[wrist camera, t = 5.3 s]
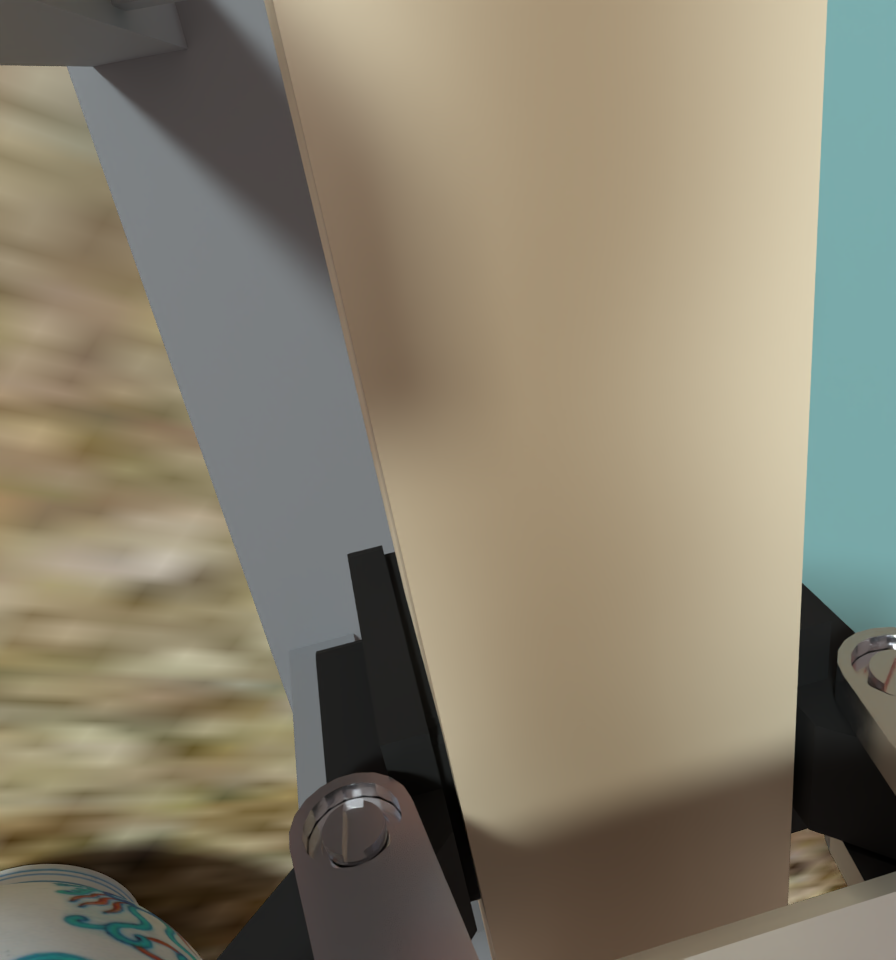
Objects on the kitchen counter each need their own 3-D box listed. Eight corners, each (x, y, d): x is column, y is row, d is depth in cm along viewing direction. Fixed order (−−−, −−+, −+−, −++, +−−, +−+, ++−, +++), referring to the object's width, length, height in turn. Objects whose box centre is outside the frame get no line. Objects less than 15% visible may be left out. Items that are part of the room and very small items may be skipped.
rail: (610, -692, 6) (885, -1307, 3) (694, 1067, 17) (772, 1247, 14) (111, -640, 6) (-27, -1285, 3) (530, 1121, 17) (580, 1316, 14)
